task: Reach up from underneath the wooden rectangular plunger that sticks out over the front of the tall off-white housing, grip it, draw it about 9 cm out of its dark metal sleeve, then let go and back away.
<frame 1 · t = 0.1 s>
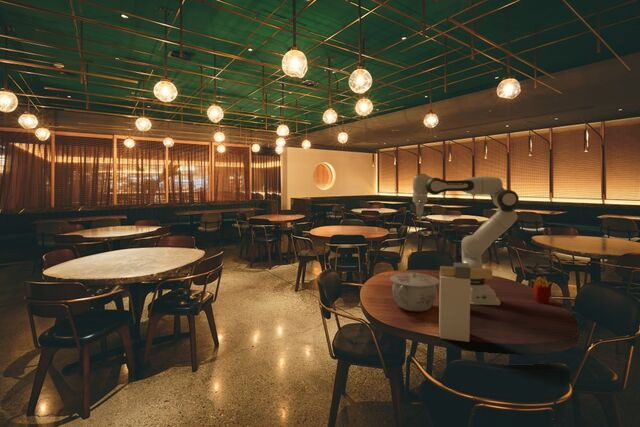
hand: (419, 221, 195), 48 cm above the table, tool pointing down, fingers open, 8 cm apart
chamber pot: (413, 307, 176), on the table
wooden rectangular plunger: (465, 272, 138), point 30 cm above the table, slide at 0.0 cm
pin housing: (453, 335, 141), on the table
french fries: (539, 301, 184), on the table
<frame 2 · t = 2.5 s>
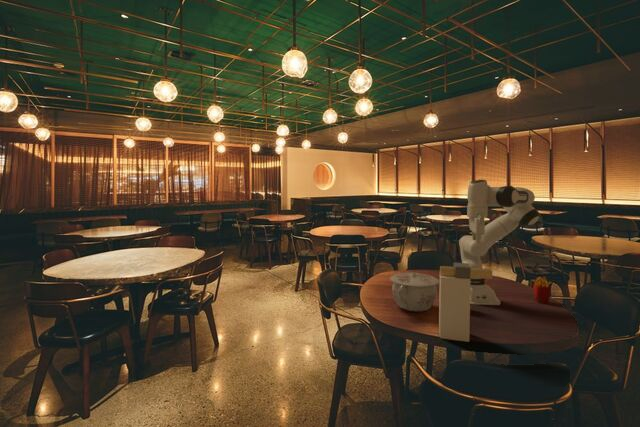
hand: (476, 241, 149), 42 cm above the table, tool pointing down, fingers open, 8 cm apart
nothing on the table moved.
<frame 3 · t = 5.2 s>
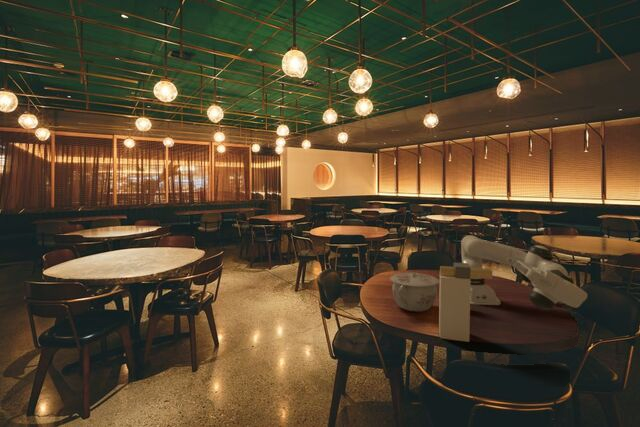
hand: (510, 261, 132), 36 cm above the table, tool pointing upward, fingers open, 8 cm apart
nothing on the table moved.
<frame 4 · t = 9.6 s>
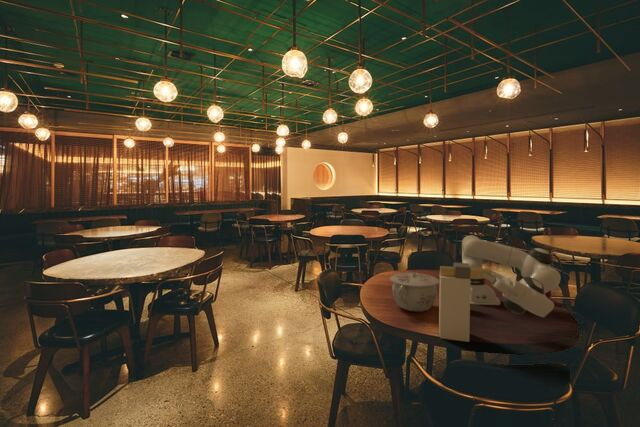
hand: (481, 272, 136), 30 cm above the table, tool pointing upward, fingers closed on wooden rectangular plunger, 4 cm apart
wooden rectangular plunger: (465, 272, 138), point 30 cm above the table, slide at 0.0 cm, touching gripper
everything else where it was.
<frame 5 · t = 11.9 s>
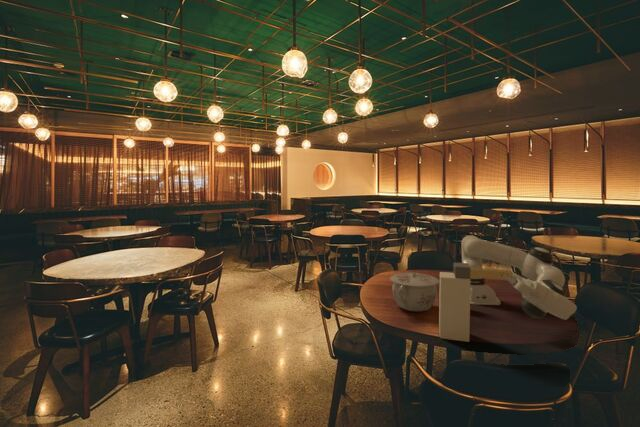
hand: (501, 273, 133), 30 cm above the table, tool pointing upward, fingers closed on wooden rectangular plunger, 4 cm apart
wooden rectangular plunger: (484, 273, 135), point 30 cm above the table, slide at 7.7 cm, touching gripper
everything else where it was.
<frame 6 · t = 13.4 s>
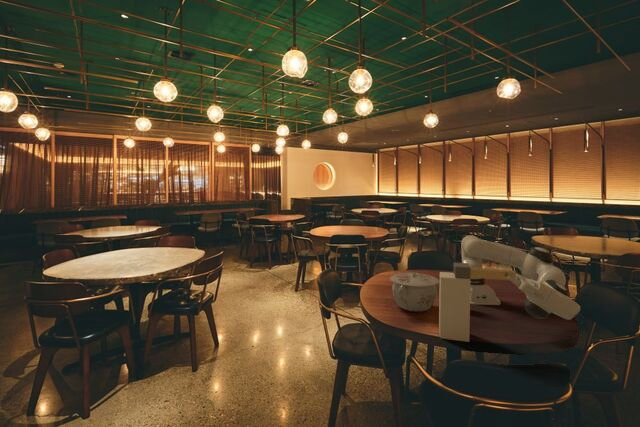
hand: (504, 273, 133), 30 cm above the table, tool pointing upward, fingers open, 8 cm apart
wooden rectangular plunger: (487, 273, 135), point 30 cm above the table, slide at 9.0 cm
everything else where it was.
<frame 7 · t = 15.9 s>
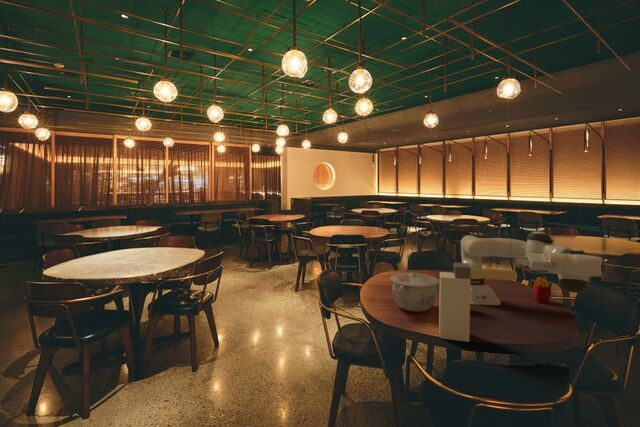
hand: (515, 259, 136), 35 cm above the table, tool horizontal, fingers open, 8 cm apart
nothing on the table moved.
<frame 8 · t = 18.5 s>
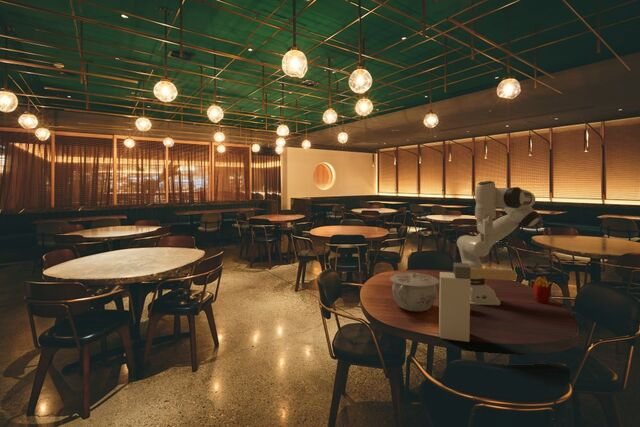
hand: (484, 242, 150), 41 cm above the table, tool pointing down, fingers open, 8 cm apart
nothing on the table moved.
at the end: wooden rectangular plunger slide at 9.0 cm; the gripper is holding nothing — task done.
